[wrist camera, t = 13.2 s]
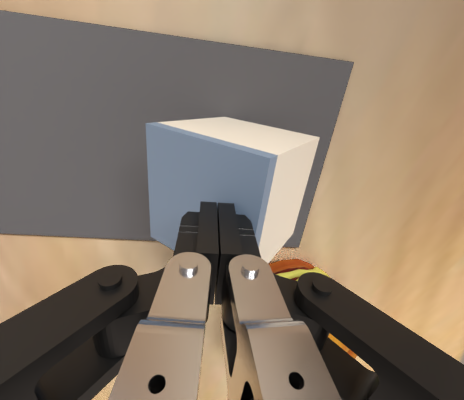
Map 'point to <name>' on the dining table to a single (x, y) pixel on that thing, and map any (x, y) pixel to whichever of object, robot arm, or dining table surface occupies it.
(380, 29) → the dining table surface
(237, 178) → the cream cube
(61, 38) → the rubber mat
